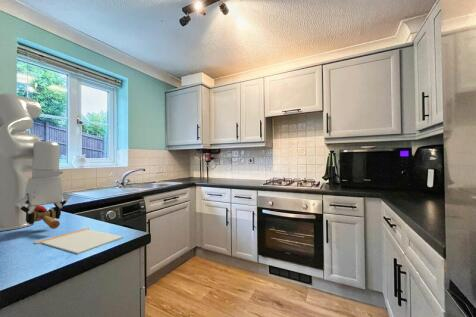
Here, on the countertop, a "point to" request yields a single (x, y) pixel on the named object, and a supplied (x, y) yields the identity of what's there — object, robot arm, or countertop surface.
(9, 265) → the countertop surface
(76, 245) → the mat
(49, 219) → the kendama
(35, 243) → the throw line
